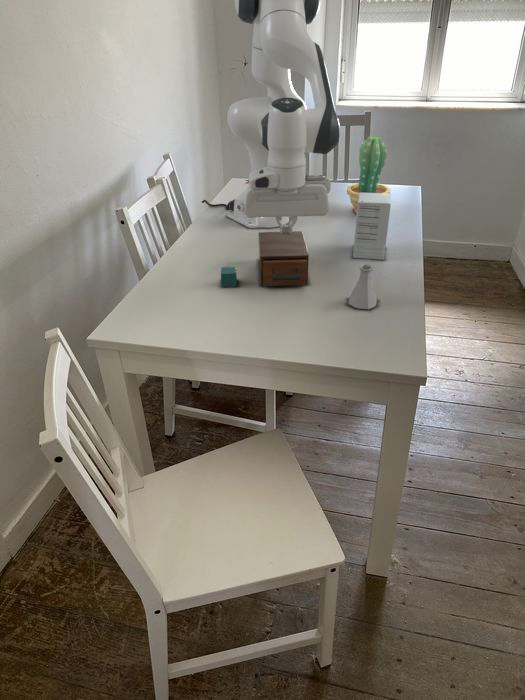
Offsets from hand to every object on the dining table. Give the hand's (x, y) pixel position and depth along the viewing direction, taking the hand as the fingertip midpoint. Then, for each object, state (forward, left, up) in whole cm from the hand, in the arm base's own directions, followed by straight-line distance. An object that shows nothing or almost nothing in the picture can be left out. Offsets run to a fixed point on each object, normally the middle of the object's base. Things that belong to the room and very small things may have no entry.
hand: (286, 232), depth 131 cm
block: (-14, -7, -16) cm, 23 cm away
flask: (+19, +8, -16) cm, 26 cm away
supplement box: (+3, +35, -16) cm, 39 cm away
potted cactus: (-18, +65, -16) cm, 69 cm away
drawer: (-5, +4, -15) cm, 17 cm away
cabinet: (-8, +8, -16) cm, 20 cm away
